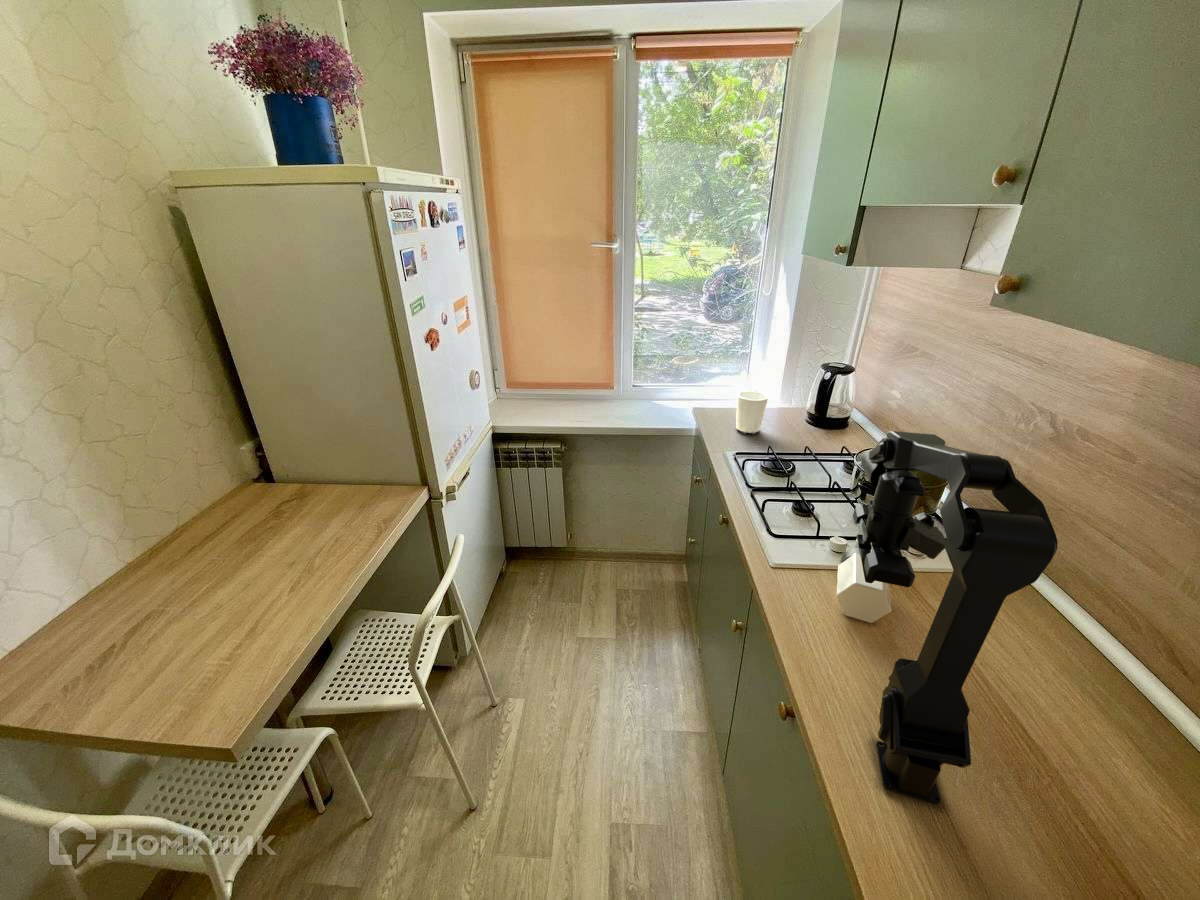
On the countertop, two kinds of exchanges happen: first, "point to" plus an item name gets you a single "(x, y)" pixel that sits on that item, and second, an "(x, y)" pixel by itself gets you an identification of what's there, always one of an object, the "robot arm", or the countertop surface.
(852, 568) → the jar
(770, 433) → the countertop surface
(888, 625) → the countertop surface
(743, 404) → the cup
